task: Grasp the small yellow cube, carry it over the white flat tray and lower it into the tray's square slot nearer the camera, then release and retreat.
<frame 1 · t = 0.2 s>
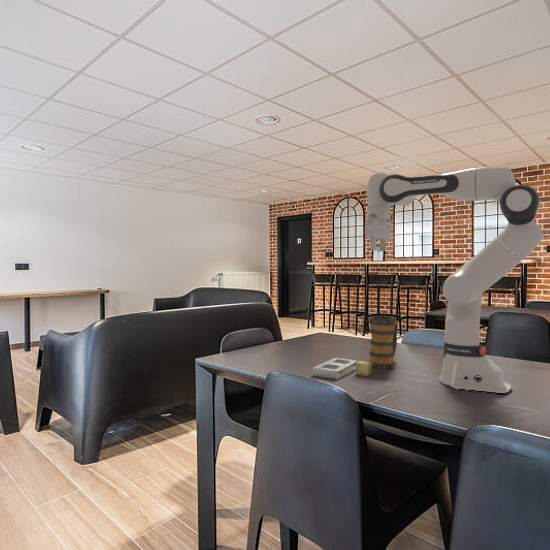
hand: (377, 250, 160), 47 cm above the table, fingers open, 8 cm apart
yellow cube: (363, 374, 156), on the table
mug: (384, 365, 171), on the table
white flat tray: (336, 371, 159), on the table
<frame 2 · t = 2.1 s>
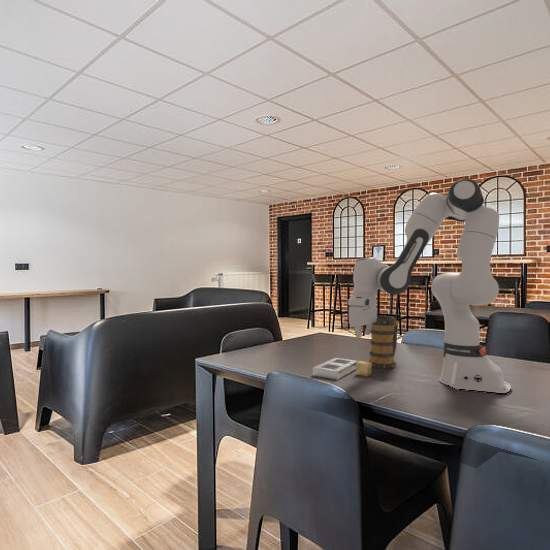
hand: (363, 336, 156), 14 cm above the table, fingers open, 8 cm apart
nothing on the table moved.
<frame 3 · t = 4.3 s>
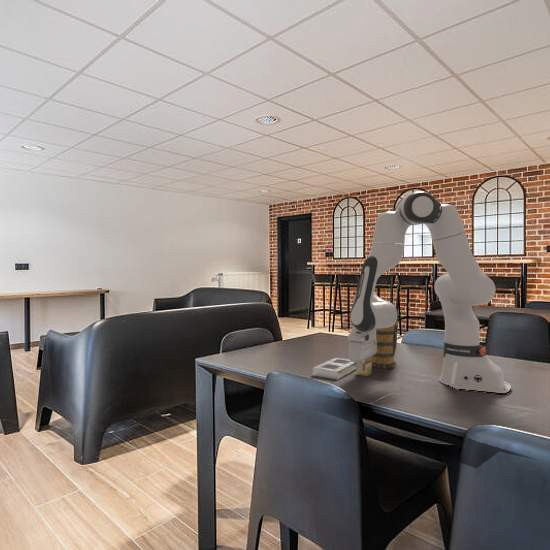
hand: (363, 369, 156), 2 cm above the table, fingers closed on yellow cube, 4 cm apart
yellow cube: (363, 374, 156), on the table, touching gripper
everything else where it was.
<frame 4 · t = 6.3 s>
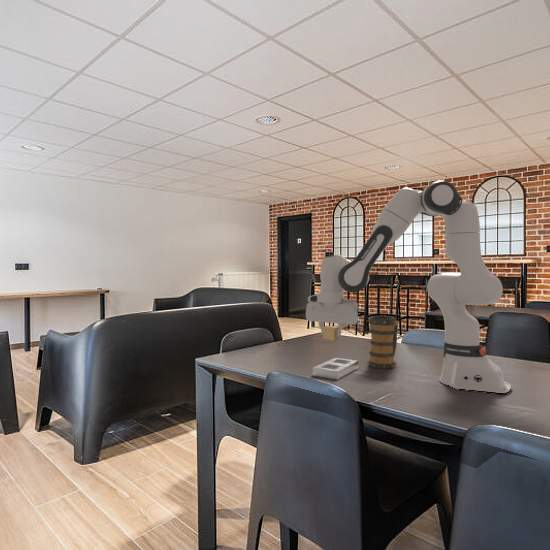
hand: (330, 334, 154), 15 cm above the table, fingers closed on yellow cube, 4 cm apart
yellow cube: (330, 338, 154), point 14 cm above the table, touching gripper
everything else where it was.
when the fingers open (3 cm above the table, at t = 8.5 s): yellow cube drops 2 cm, resting in white flat tray.
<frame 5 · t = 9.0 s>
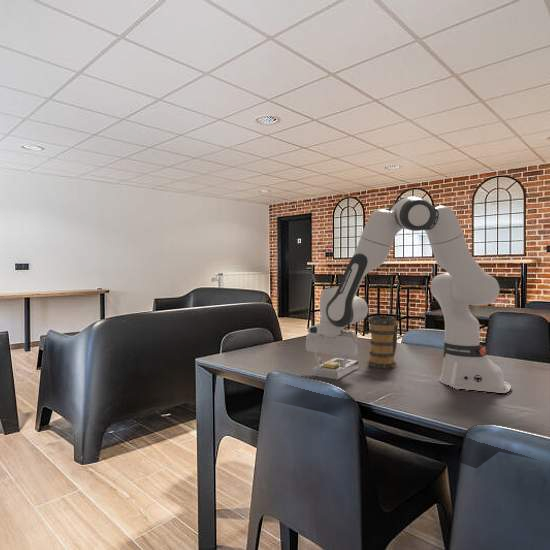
hand: (330, 365, 155), 3 cm above the table, fingers open, 8 cm apart
yellow cube: (330, 374, 155), resting in white flat tray
everything else where it was.
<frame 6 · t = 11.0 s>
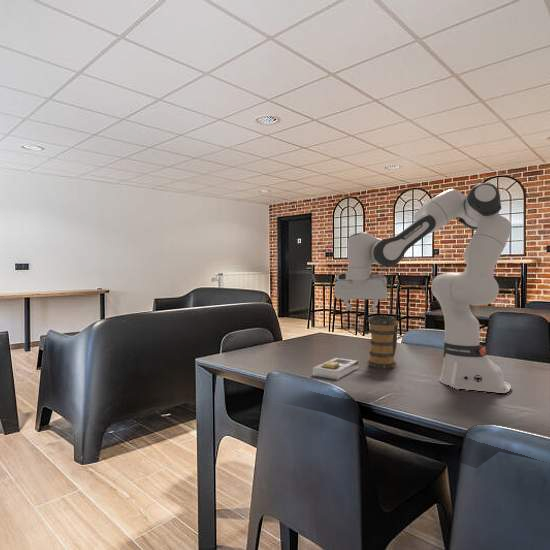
hand: (361, 310, 157), 24 cm above the table, fingers open, 8 cm apart
nothing on the table moved.
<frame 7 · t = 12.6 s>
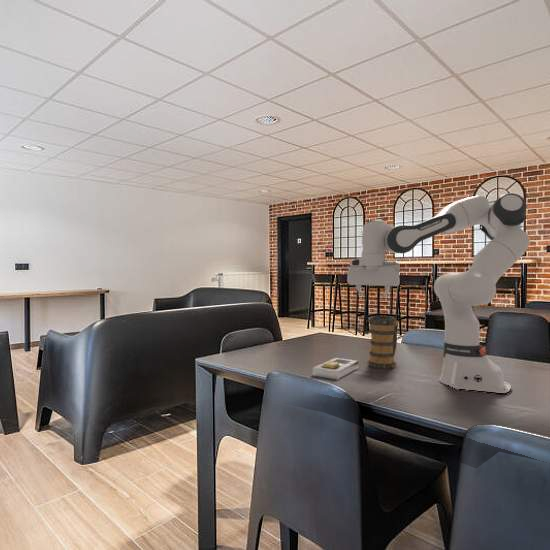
hand: (372, 297, 160), 29 cm above the table, fingers open, 8 cm apart
nothing on the table moved.
at the end: yellow cube 0.1 cm from the target spot on the white flat tray, point 0.0 cm above the white flat tray's base; the gripper is holding nothing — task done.
